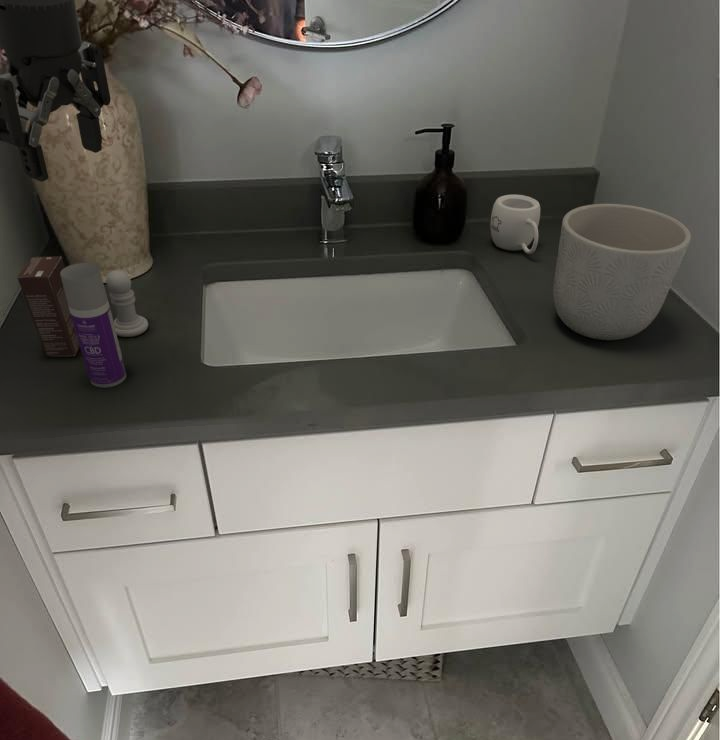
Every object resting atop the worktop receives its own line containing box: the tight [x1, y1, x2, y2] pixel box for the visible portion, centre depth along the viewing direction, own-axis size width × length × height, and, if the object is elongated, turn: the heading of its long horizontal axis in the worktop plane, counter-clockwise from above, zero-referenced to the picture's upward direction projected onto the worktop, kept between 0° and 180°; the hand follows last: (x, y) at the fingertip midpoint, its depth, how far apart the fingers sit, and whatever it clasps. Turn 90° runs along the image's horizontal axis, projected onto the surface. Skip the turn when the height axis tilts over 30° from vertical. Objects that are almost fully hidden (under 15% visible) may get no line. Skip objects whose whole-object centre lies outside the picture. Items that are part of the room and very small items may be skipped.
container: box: [60, 262, 127, 389], centre depth 87 cm, size 5×5×15 cm
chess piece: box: [105, 269, 149, 338], centre depth 98 cm, size 5×5×9 cm
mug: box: [489, 194, 541, 255], centre depth 122 cm, size 12×8×8 cm
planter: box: [552, 203, 692, 341], centre depth 100 cm, size 17×17×15 cm
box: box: [17, 255, 81, 358], centre depth 93 cm, size 6×4×12 cm
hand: (66, 163), depth 76 cm, fingers open, 8 cm apart
